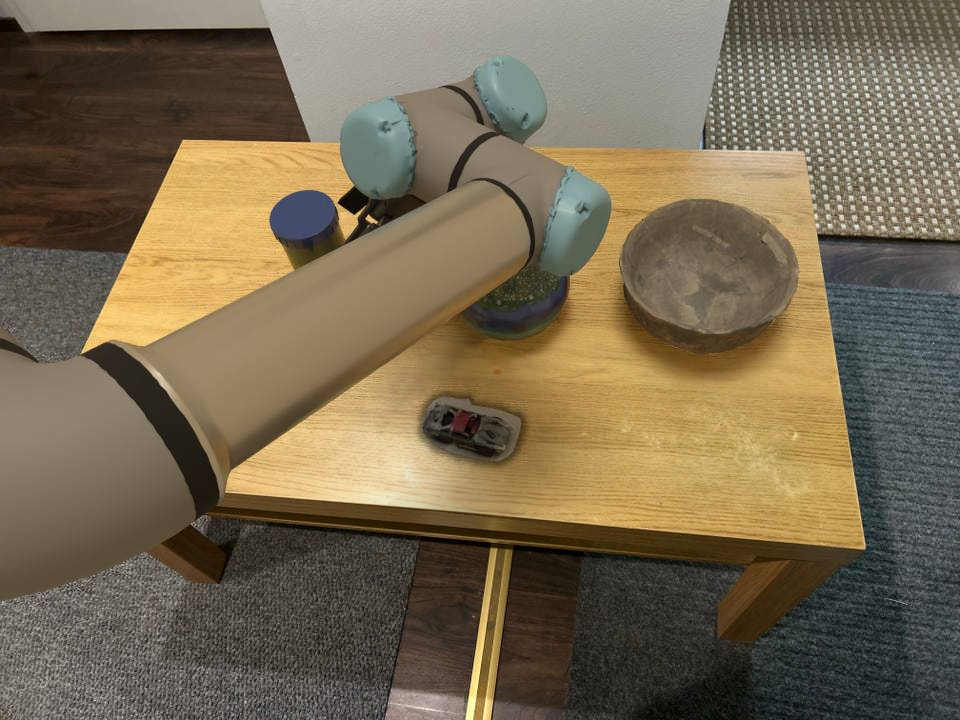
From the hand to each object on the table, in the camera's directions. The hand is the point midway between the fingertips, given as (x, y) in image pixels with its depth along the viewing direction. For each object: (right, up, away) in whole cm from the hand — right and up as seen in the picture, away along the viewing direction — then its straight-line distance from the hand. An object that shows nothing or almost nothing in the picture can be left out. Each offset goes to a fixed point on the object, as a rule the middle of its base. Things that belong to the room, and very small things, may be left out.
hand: (329, 246), depth 87 cm
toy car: (+18, -23, -4) cm, 29 cm away
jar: (-1, -5, +8) cm, 10 cm away
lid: (-2, +3, -4) cm, 5 cm away
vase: (+23, -8, +5) cm, 25 cm away
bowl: (+47, -8, +3) cm, 48 cm away
